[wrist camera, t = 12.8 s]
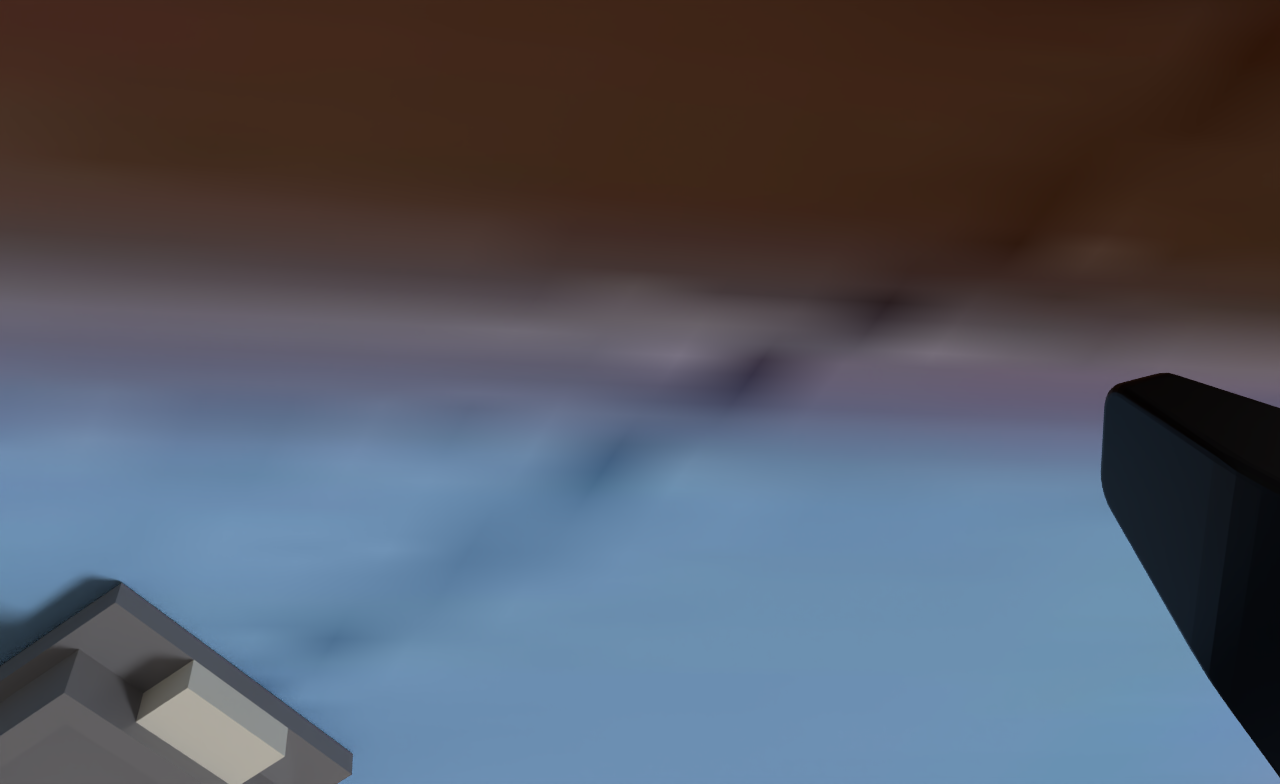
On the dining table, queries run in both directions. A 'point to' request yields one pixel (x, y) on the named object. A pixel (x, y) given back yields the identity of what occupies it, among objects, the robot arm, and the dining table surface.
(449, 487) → the dining table surface
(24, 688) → the fuse block
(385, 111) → the dining table surface
